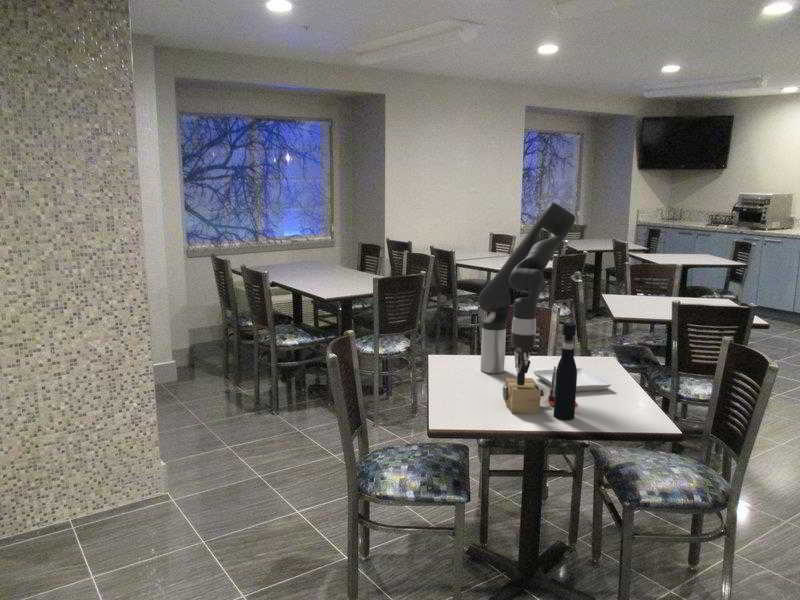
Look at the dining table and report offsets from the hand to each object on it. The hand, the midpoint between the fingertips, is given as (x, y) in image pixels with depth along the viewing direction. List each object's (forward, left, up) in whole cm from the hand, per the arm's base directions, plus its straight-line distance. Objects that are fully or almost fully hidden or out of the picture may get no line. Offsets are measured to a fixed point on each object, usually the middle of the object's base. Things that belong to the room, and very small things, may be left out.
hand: (520, 383), depth 205 cm
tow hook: (-7, +16, -10) cm, 20 cm away
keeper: (0, +1, -1) cm, 2 cm away
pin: (-7, +3, -7) cm, 10 cm away
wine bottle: (+5, +13, -9) cm, 17 cm away
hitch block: (-4, +2, -9) cm, 10 cm away
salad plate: (-28, +25, -10) cm, 39 cm away
